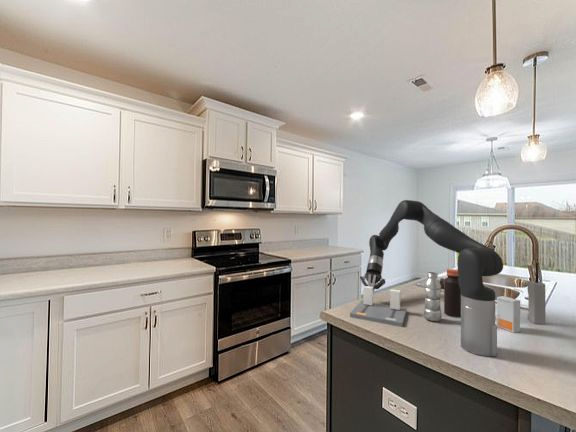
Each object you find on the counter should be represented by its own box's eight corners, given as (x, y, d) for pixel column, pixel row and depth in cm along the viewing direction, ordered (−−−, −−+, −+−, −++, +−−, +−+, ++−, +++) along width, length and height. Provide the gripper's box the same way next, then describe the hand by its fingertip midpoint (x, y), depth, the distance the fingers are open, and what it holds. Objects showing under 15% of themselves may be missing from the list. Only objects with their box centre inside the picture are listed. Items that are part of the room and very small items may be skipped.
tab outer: (373, 303, 126) (373, 286, 126) (372, 305, 123) (372, 288, 123) (364, 302, 128) (364, 285, 128) (363, 303, 125) (363, 287, 125)
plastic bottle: (444, 323, 107) (444, 274, 107) (426, 322, 108) (426, 274, 109) (438, 318, 113) (438, 271, 113) (421, 316, 115) (421, 271, 115)
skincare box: (496, 326, 105) (496, 296, 105) (503, 325, 106) (503, 295, 106) (513, 333, 99) (513, 301, 99) (520, 331, 100) (520, 300, 101)
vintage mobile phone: (537, 320, 112) (537, 261, 112) (545, 325, 107) (545, 263, 107) (526, 319, 113) (527, 261, 113) (534, 323, 108) (534, 263, 108)
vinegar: (458, 318, 113) (459, 272, 113) (441, 314, 118) (441, 269, 118) (464, 315, 117) (464, 270, 117) (447, 311, 122) (447, 268, 122)
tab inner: (400, 307, 120) (400, 290, 120) (399, 309, 118) (399, 292, 118) (391, 306, 122) (391, 289, 122) (390, 308, 119) (390, 290, 120)
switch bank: (406, 311, 121) (406, 307, 121) (402, 326, 104) (402, 322, 104) (360, 303, 131) (360, 300, 131) (349, 316, 114) (349, 313, 114)
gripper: (361, 260, 140) (354, 289, 129) (387, 263, 133) (383, 292, 122) (363, 269, 144) (357, 297, 133) (388, 271, 138) (384, 301, 127)
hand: (369, 295), depth 128 cm, fingers closed
